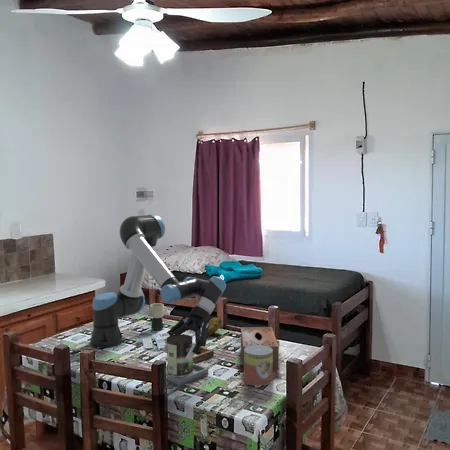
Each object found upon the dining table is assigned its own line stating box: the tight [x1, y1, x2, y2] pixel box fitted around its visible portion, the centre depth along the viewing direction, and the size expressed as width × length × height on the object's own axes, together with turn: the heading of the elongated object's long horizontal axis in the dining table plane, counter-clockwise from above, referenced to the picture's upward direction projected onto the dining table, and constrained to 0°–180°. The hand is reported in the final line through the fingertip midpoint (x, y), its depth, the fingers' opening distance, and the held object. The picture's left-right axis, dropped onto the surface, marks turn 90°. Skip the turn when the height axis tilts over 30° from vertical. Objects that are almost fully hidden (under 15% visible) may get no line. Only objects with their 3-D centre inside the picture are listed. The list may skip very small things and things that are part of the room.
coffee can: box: [166, 333, 193, 378], centre depth 188 cm, size 10×10×14 cm
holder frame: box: [192, 343, 215, 364], centre depth 209 cm, size 14×14×2 cm
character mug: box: [147, 302, 167, 330], centre depth 249 cm, size 11×7×13 cm, turn 126°
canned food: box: [243, 345, 274, 387], centre depth 183 cm, size 11×11×12 cm
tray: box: [166, 363, 209, 388], centre depth 189 cm, size 16×16×2 cm
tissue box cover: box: [240, 326, 280, 371], centre depth 206 cm, size 26×14×10 cm, turn 0°
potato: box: [207, 317, 223, 338], centre depth 239 cm, size 8×13×8 cm, turn 128°
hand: (175, 355), depth 186 cm, fingers open, 13 cm apart
